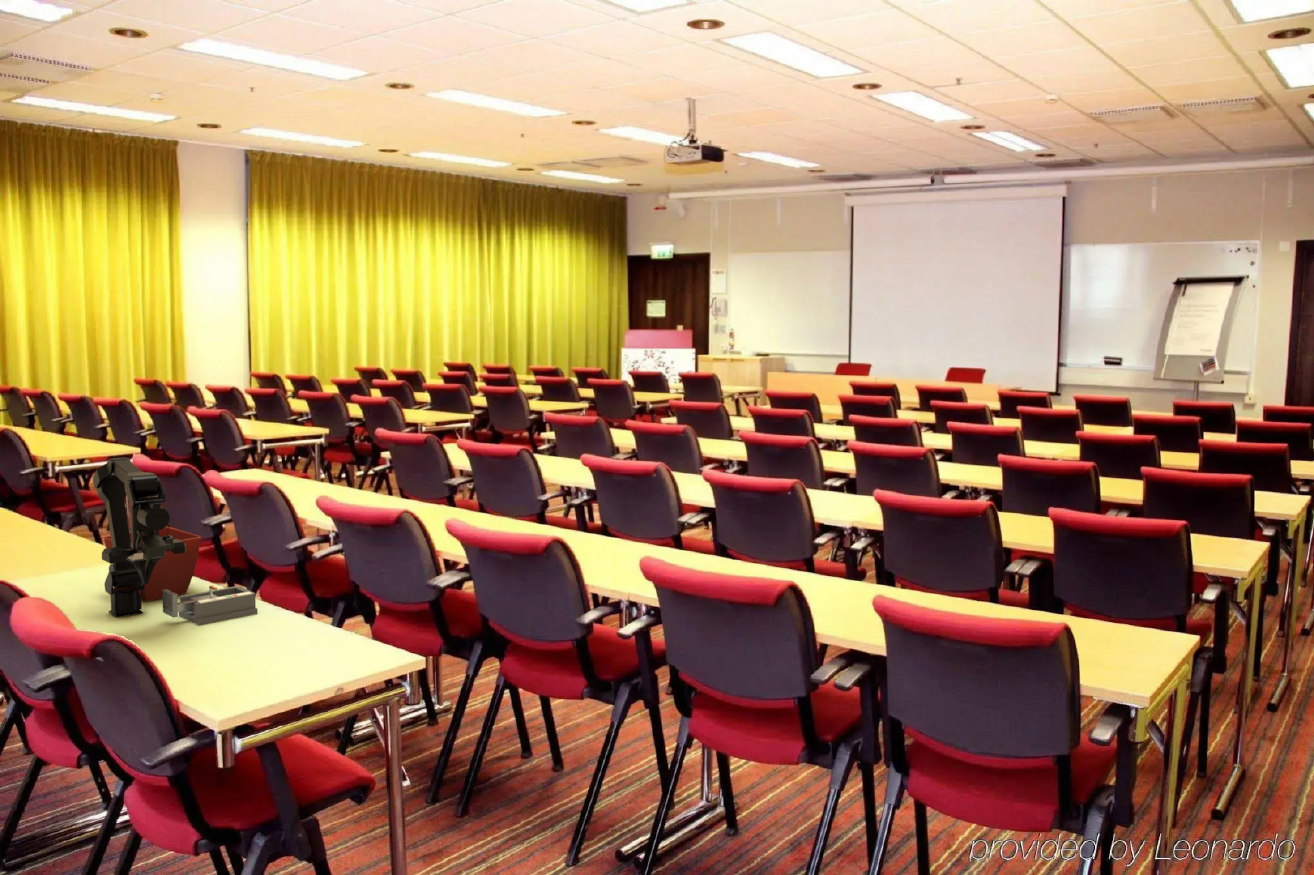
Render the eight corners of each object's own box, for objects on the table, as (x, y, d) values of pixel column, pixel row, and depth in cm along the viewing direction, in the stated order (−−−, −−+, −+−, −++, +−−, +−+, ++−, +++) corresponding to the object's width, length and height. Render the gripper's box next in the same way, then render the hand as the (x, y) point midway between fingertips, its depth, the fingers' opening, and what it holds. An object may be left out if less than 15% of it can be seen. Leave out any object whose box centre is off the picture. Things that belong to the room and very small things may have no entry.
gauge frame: (198, 625, 270) (197, 603, 269) (178, 615, 278) (178, 593, 277) (257, 613, 282) (257, 592, 281) (237, 604, 290) (236, 583, 289)
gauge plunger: (177, 622, 266) (176, 595, 265) (162, 614, 272) (161, 587, 272) (227, 612, 276) (227, 586, 275) (212, 605, 282) (212, 579, 281)
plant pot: (137, 607, 284) (135, 547, 282) (104, 594, 296) (102, 536, 294) (204, 593, 299) (202, 536, 297) (169, 581, 311) (168, 526, 309)
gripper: (117, 534, 251) (119, 597, 253) (194, 524, 265) (196, 583, 266) (99, 526, 259) (102, 587, 260) (176, 517, 272) (177, 575, 274)
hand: (145, 583), depth 265 cm, fingers closed
